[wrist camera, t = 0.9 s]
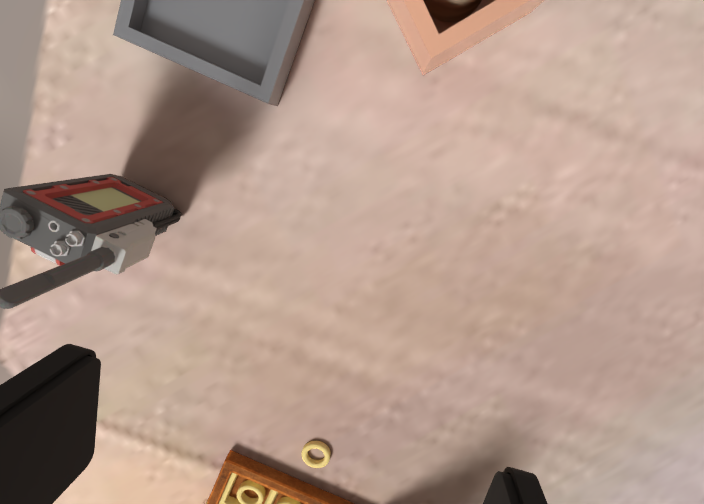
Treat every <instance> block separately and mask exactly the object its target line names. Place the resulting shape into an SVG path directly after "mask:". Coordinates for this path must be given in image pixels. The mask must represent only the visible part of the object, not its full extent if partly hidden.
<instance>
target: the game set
mask: <svg viewBox="0 0 704 504" xmlns="http://www.w3.org/2000/svg"><path fill="white" fill-rule="evenodd" d="M314 448H316V449H320V450H321V451H322V452H323V453H324V455H325V457H324V458H323V459H321V460H314V459H312V458H310V456H309V455H308V451H309V450H310V449H314ZM302 459H303V461H304V462H305V463H306V464H307V465H308V466H310V467H313V468H321V467H324V466H325V465H327V464H328V462H329V460H330V449H329V447H328V446H327V445H326V444H324V443H323V442H320V441H310V442H308V443H307V444H305V446H304V448H303V450H302ZM206 504H355V503H352V502H350V501H348V500H345V499H343V498H341V497H338V496H336V495H334V494H331V493H329V492H327V491H324V490H322V489H320V488H317V487H315V486H313V485H310V484H308V483H306V482H304V481H301V480H299V479H297V478H294V477H292V476H290V475H287V474H285V473H283V472H280V471H278V470H276V469H273V468H271V467H269V466H266V465H264V464H262V463H259V462H257V461H255V460H252V459H250V458H248V457H246V456H243V455H241V454H239V453H236V452H234V451H232V450H230V452H229V454H228V455H227V457H226V459H225V461H224V464H223V466H222V468H221V471H220V473H219V476H218V478H217V480H216V483H215V485H214V487H213V490H212V492H211V494H210V496H209V498H208V500H207V502H206Z"/></svg>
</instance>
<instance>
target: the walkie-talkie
mask: <svg viewBox="0 0 704 504" xmlns="http://www.w3.org/2000/svg"><path fill="white" fill-rule="evenodd" d="M180 217H181V213H180V212H179V211H178V210H176V209H174V206H173V205H172V203H171V202H170V201H169V200H167V199H165V198H163V197H161V196H159V195H157V194H155V193H153V192H151V191H149V190H147V189H145V188H143V187H141V186H139V185H137V184H135V183H133V182H131V181H129V180H127V179H125V178H123V177H121V176H117V175H113V174H107V175H100V176H93V177H85V178H78V179H71V180H64V181H57V182H50V183H43V184H35V185H28V186H21V187H14V188H8V189H4V192H3V196H2V200H1V204H0V230H1V231H2V232H3V233H4V234H6V235H7V236H8V237H10V238H14V239H16V240H18V241H20V242H22V243H24V244H26V245H28V246H30V247H31V251H32V252H33V253H35V254H37V255H39V256H41V257H43V258H45V259H47V260H49V261H51V262H53V263H55V264H58V265H60V266H58V267H56V268H53V269H51V270H48V271H46V272H43V273H41V274H38V275H35V276H33V277H30V278H28V279H25V280H23V281H20V282H18V283H15V284H13V285H10V286H7V287H5V288H2V289H0V307H1V308H3V309H10V308H13V307H15V306H17V305H19V304H22V303H24V302H26V301H28V300H30V299H33V298H35V297H37V296H39V295H41V294H44V293H46V292H48V291H50V290H53V289H55V288H57V287H59V286H61V285H64V284H66V283H68V282H70V281H72V280H75V279H77V278H79V277H81V276H83V275H86V274H88V273H90V272H92V271H100V270H102V269H105V270H108V271H110V272H112V273H114V274H116V275H117V274H120V273H122V272H124V271H125V269H126V268H128V267H130V266H132V265H134V264H136V263H138V262H139V261H141V260H143V259H145V258H147V257H148V256H149V254H150V251H151V248H152V245H153V242H154V240H155V236H157V235H159V234H160V233H163V232H166V230H167V227H168V226H169V225H171V224H174V223H176V222H178V221H179V220H180Z"/></svg>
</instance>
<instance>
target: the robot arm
mask: <svg viewBox="0 0 704 504" xmlns="http://www.w3.org/2000/svg"><path fill="white" fill-rule="evenodd" d="M100 369H101V362H100V360H99V359H97V358H96V354H95V352H94V351H93V350H90V349H86V348H83V347H79V346H76V345H72V344H66V345H64V346H62V347H60V348H59V349H57V350H56V351H54V352H52V353H51V354H49V355H48V356H46V357H44V358H43V359H41V360H40V361H38V362H36V363H35V364H33V365H32V366H30V367H28V368H27V369H25V370H24V371H22V372H21V373H19V374H17V375H16V376H14V377H13V378H11V379H9V380H8V381H7V382H5V383H3V384H1V385H0V504H53V502H54V501H55V500H56V499H57V498H58V497H59V496H60V495H61V494H62V493H63V492H64V491H65V490H66V489H67V488H68V487H69V485H70V484H71V483H72V482H73V481H74V480H75V479H76V478H77V477H78V476H79V475H80V474H81V473H82V472H83V471H84V470H85V468H86V467H87V466H88V464H89V463H90V461H91V459H92V457H93V454H94V448H95V435H96V421H97V408H98V395H99V382H100ZM483 504H547V501H546V499H545V496H544V494H543V491H542V489H541V486H540V484H539V481H538V479H537V477H536V475H534V474H533V473H529V472H526V471H522V470H519V469H515V468H511V467H507V468H506V469H505V470H504V472H500V471H498V472H497V473H496V474H495V476H494V478H493V481H492V483H491V485H490V488H489V490H488V493H487V495H486V497H485V500H484V502H483Z"/></svg>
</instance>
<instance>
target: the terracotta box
mask: <svg viewBox="0 0 704 504" xmlns="http://www.w3.org/2000/svg"><path fill="white" fill-rule="evenodd" d="M543 1H544V0H482V1H481V3H480V4H479V5H478V7H477V8H476V9H475V10H474V11H473V12H472V13H471V14H470V15H468V16H467V17H465V18H463V19H461V20H458V21H454V22H444V21H440V20H437V19H435V18H433V17H432V16H430V14H429V12H428V10H427V8H426V5H425V3H424V1H423V0H387V2H388V4H389V6H390V8H391V10H392V12H393V14H394V16H395V18H396V21H397V23H398V25H399V27H400V29H401V31H402V33H403V35H404V37H405V39H406V41H407V43H408V45H409V47H410V50H411V52H412V54H413V56H414V58H415V60H416V62H417V64H418V66H419V68H420V70H421V72H422V74H423V75H425V74H427V73H428V72H430V71H432V70H433V69H435V68H437V67H439V66H440V65H442V64H444V63H445V62H447V61H449V60H450V59H452V58H454V57H456V56H457V55H459V54H461V53H462V52H464V51H466V50H468V49H469V48H471V47H473V46H474V45H476V44H478V43H480V42H481V41H483V40H485V39H486V38H488V37H490V36H492V35H493V34H495V33H497V32H498V31H500V30H502V29H504V28H505V27H507V26H509V25H510V24H512V23H514V22H515V21H517V20H519V19H521V18H522V17H524V16H526V15H527V14H529V13H531V12H532V11H533V10H534V9H535V8H536V7H538V6H539V5H540V4H541V3H542V2H543Z"/></svg>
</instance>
